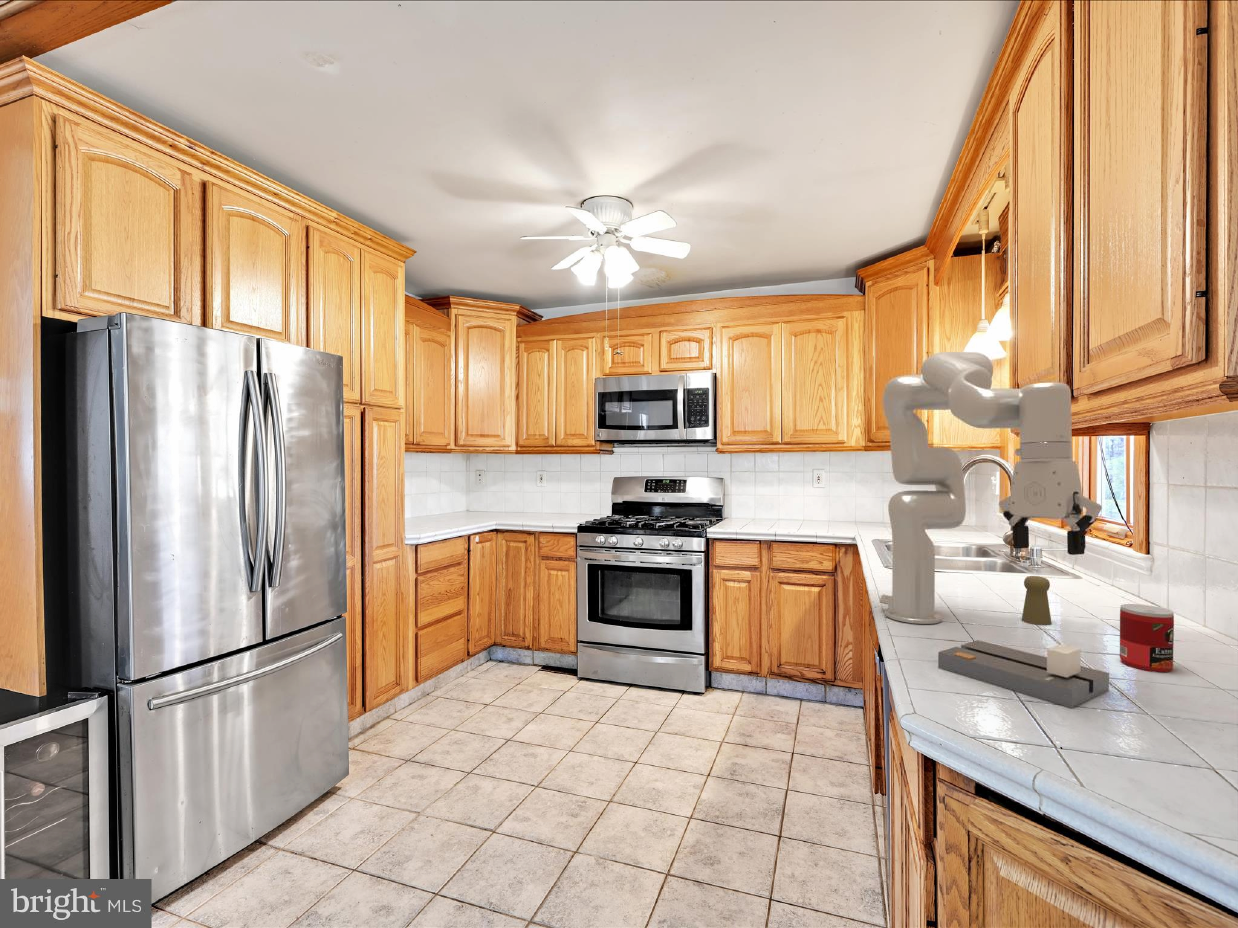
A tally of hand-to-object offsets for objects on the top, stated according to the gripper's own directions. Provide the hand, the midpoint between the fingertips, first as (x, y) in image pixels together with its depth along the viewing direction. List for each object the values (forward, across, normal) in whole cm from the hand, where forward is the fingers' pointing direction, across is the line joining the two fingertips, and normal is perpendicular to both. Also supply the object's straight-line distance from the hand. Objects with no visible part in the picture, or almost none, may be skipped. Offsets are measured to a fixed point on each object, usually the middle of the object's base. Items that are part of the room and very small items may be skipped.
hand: (1047, 551), depth 107 cm
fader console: (+24, -5, -1) cm, 24 cm away
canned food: (+24, -2, +28) cm, 37 cm away
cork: (+22, -30, +38) cm, 54 cm away
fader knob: (+22, +2, 0) cm, 23 cm away
